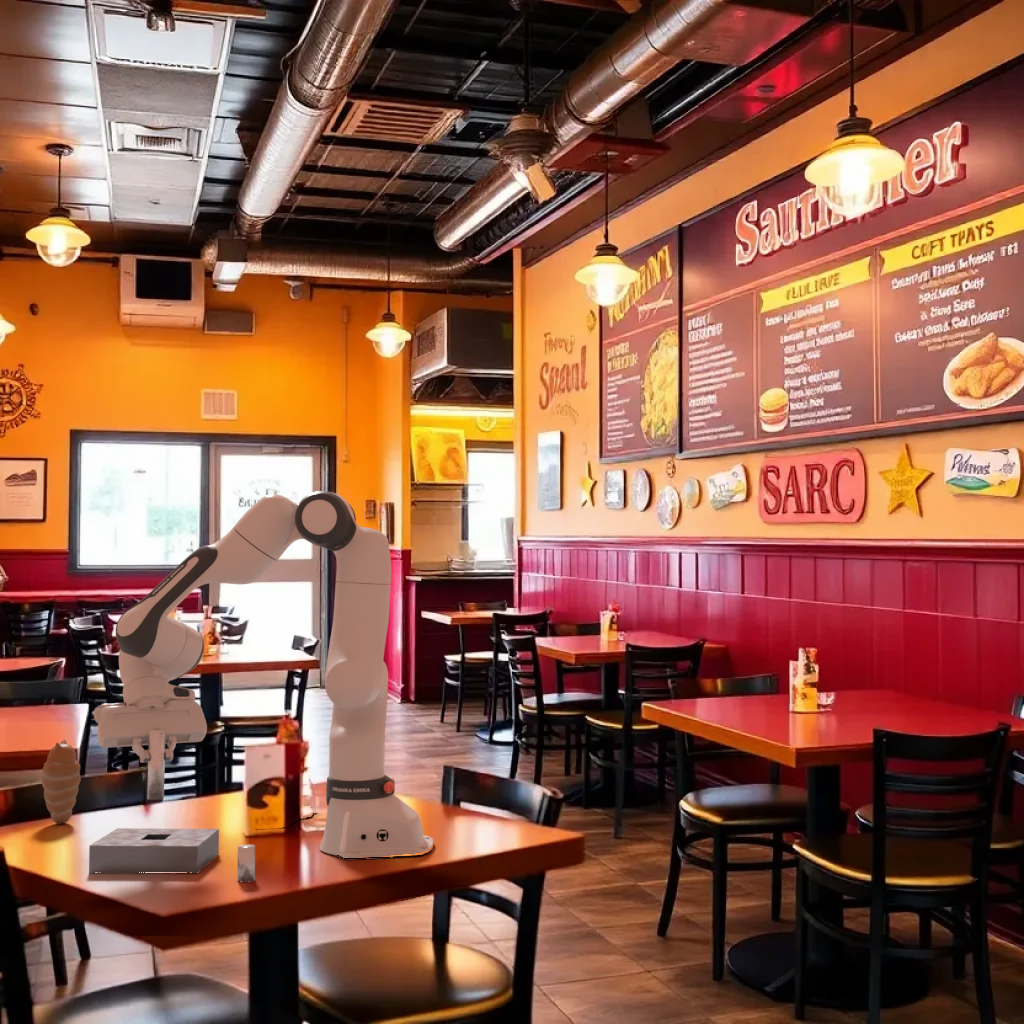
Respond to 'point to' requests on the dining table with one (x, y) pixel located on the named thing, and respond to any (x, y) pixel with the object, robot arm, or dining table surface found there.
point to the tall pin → (156, 764)
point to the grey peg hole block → (154, 850)
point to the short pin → (246, 863)
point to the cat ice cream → (61, 781)
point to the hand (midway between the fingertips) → (157, 759)
